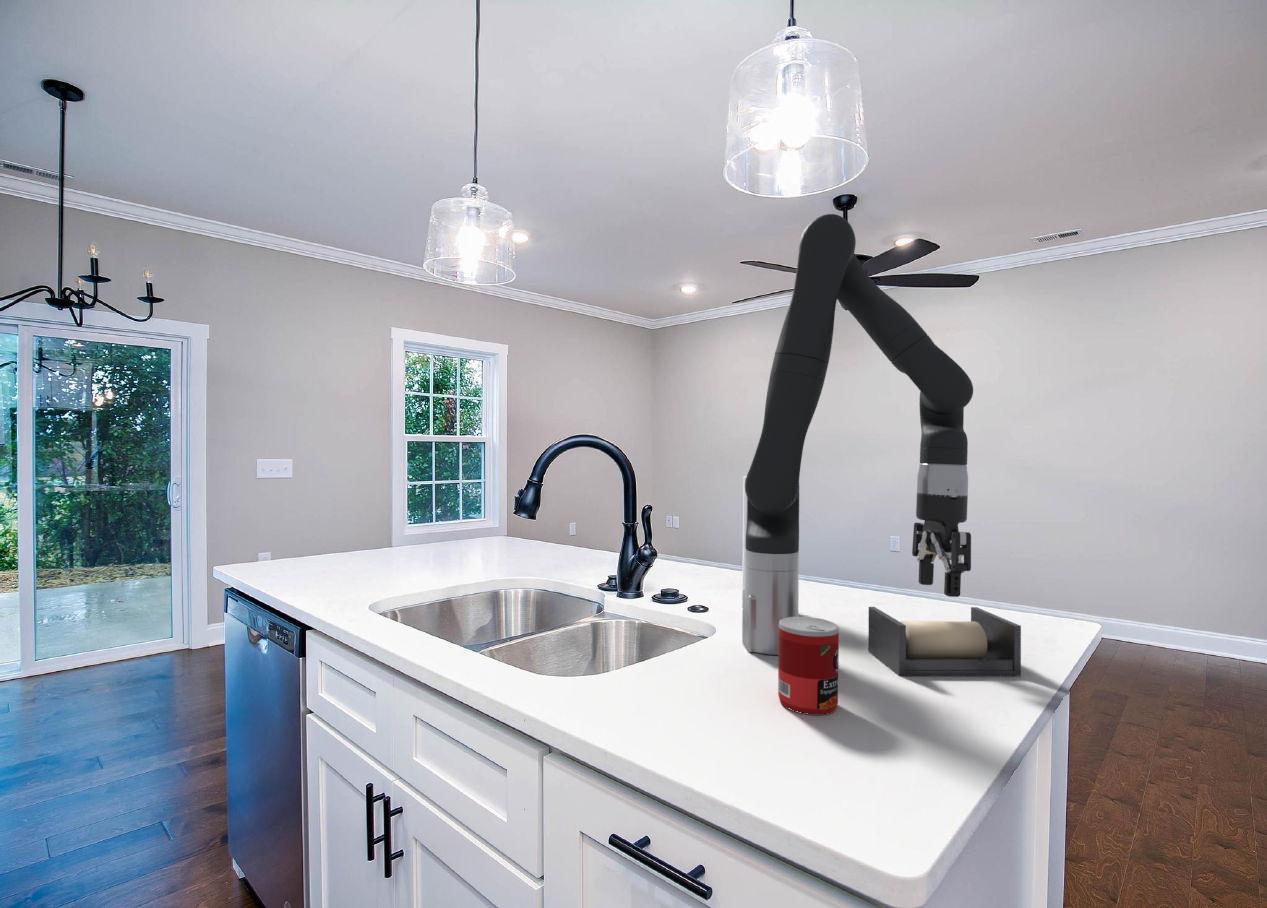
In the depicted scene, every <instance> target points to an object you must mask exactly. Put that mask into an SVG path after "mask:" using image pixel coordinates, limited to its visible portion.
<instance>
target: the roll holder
mask: <svg viewBox="0 0 1267 908" xmlns="http://www.w3.org/2000/svg"><path fill="white" fill-rule="evenodd" d="M970 621H975V622H978V623H979V624H980V625H981V626H982V628H983V630H984V632H985V634H986V638H987V652H986V655H985V657H984V658H983V659H906V625H904V624H903V623H901V621H899V620H897V619H896V618H894V617H893V616H890V615H889V614H887V613H885V612H884V611H882V610H881V609H879V608H877V607H875V606H868V632H867V633H868V638H867V639H868V644H867V645H868V646H867V647H868V651H869V652H868V653H870V654H871V655H872V656H873V657H875V658H876V659H877V660H878V659H879V660H878V661H879V662H880V663H882V664H883V665H884V666H886V667H887V668H889V670H891V671H892V672H894V674H896V675H897V676H898V677H1021V675H1022V671H1021V670H1022V667H1021V666H1022V625H1019V624H1018V623H1015V622H1013V621H1010V620H1008V619H1005V618H1003V617H1001V616H999V615H996V614H993V613H991V612H989V611H987V610H984V609H982V608H979V607H977V606H976V607H975V606H971V607H970Z"/></svg>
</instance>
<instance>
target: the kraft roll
mask: <svg viewBox="0 0 1267 908" xmlns="http://www.w3.org/2000/svg"><path fill="white" fill-rule="evenodd" d="M900 622H901V623H903V624H904V625H906V659H983V658H984V657H985V655H986V652H987V638H986V634H985V632H984V630H983V628H982V626H981V625H980V624H979V623H978V622H975V621H971V620H969V621H966V620H965V621H964V620H963V621H960V620H959V621H955V620H953V621H949V620H948V621H947V620H945V621H944V620H941V621H940V620H939V621H935V620H934V621H933V620H925V621H924V620H921V621H920V620H901V621H900Z"/></svg>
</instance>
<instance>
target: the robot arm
mask: <svg viewBox="0 0 1267 908" xmlns="http://www.w3.org/2000/svg"><path fill="white" fill-rule="evenodd" d="M856 244H857V242H856V235H855V231H854V229H853V227H852V226H851V224H850V222H849V221H847V219H845V217H843V216H841V215H839V214H834V213H827V214H824V215H820V216H819V217H816V218H815V219H813V220H812V221H811V222H810V223H809V224H808V225H807V226H806V228H804V230H803V232H802V234H801V236H800V237H799V243H798V255H797V265H796V273H795V280H794V285H793V291H792V296H791V300H790V303H789V305H788V309H787V313H786V315H785V318H784V321H783V324H782V328H781V331H780V334H779V338H778V341H777V345H776V348H775V352H774V357H773V360H772V365H771V369H770V375H769V379H768V386H767V390H766V397H765V398H766V399H765V404H764V405H765V407H764V417H763V424H762V429H761V434H760V438H759V440H758V443H757V447H756V450H755V453H754V455H753V458H752V461H751V465H750V468H749V470H748V472H747V475H746V476H747V477H746V480H745V492H746V495H747V528H746V572H745V589H744V590H743V609H742V620H741V621H742V628H741V629H742V631H741V632H742V635H741V636H742V637H741V638H742V640H741V641H742V644H743V645H744V647H745V648H746V650H747V651H748V652H749V653H759V654H764V655H769V656H770V655H772V656H774V655H775V656H778V633H779V621H780V620H781V619H784V618H788V617H799V594H800V593H799V588H800V587H799V584H800V583H799V581H800V579H799V575H800V571H799V570H800V569H799V568H800V561H799V560H800V559H799V558H800V553H799V550H800V547H799V546H800V475H801V466H802V465H801V464H802V457H803V452H804V451H803V450H804V445H805V441H806V436H807V433H808V431H809V427H810V424H811V422H812V420H813V417H814V415H815V412H816V410H817V407H818V404H819V400H820V397H821V395H822V391H823V388H824V384H825V380H826V376H827V371H828V367H829V364H830V363H829V362H830V356H831V351H832V346H833V345H832V344H833V339H834V338H833V337H834V329H835V328H834V326H835V315H836V306H837V301H838V302H839V303H840V304H841V305H842V306H843V307H845V309H846V310H847V311H849V313H850V314H851V315H852V317H854V319H855V320H856V321H857V323H858V324H860V326H861V327H862V329H864V331H865V333H867V335H868V336H869V337H870V339H872V341H873V342H874V343H875V345H876V346H877V347H878V349H879V350H880V351H881V352H882V354H883V355H884V356H885V357H886V358H887V359H888V361H889V362H890V363H891V364H892V365H893V366H894V367H895V369H896V370H897V371H899V372H900V373H902V374H904V375H906V376H907V377H908V378H909V379H910V381H911V382H912V383H913V384H914V385H915V386H916V388H917V389H918V390H919V391H920V392H919V417H920V418H919V420H920V428H921V429H920V430H921V433H920V434H921V437H920V447H919V468H918V472H917V479H916V482H917V484H916V504H915V505H916V508H915V509H916V510H915V516H916V517H915V518H916V519H918V520H920V521H924V522H913V523H914V524H913V533H912V534H913V535H912V536H913V537H912V549H911V551H912V552H911V553H912V557H916V561H917V562H918V583H919V584H920V585H923V586H932V585H933V584H934V573H935V571H934V569H935V566H934V565H935V563H934V562H935V559H936V557H938V560H941V561H942V564H943V567H944V583H943V584H944V588H943V589H944V590H943V593H944V595H945V596H947V597H950V598H952V597H953V598H958V597H960V595H961V585H962V579H961V578H962V574H963V573H965V572H971V570H972V535H971V532H969V531H967V532H966V531H959V525H960V523H966V522H967V520H968V496H969V474H968V454H969V453H968V447H969V446H968V443H969V442H968V441H969V440H968V435H967V433H966V432H965V429H964V418H965V416H964V415H965V414H964V410H965V409H964V408H965V407H967V406H968V404H969V403H970V402H971V401H972V398H973V396H974V386H973V381H972V380H971V378H970V376H969V375H968V374H967V373H966V371H965V370H964V369H963V368H962V367H961V366H960V365H959V364H958V363H957V362H956V361H955V360H954V359H953V358H952V357H950V356H949V355H948V354H947V353H945V351H944V350H943V349H942V348H939V347H938V345H936V344H935V342H934V341H933V340H932V339H931V337H930V336H929V335H928V333H927V332H926V331H925V330H924V329H923V327H922V326H921V325H920V324H919V323H918V321H916V319H915V318H914V316H912V314H910V312H908V311H907V309H905V307H903V306H902V305H901V304H899V303H898V302H897V300H894V299H893V298H892V297H891V296H889V295H888V294H887V293H885V292H884V291H883V290H882V289H881V288H880V287H879V286H878V285H877V284H876V283H875V282H874V281H873V280H872V278H871V277H870V276H869V274H868V273H867V272H866V271H865V270H864V269H865V268H863V266H862V264H861V262H860V261H859V259H858V257H857V256H856V253H855V251H856ZM962 558H963V559H962ZM962 560H963V561H962Z"/></svg>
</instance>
